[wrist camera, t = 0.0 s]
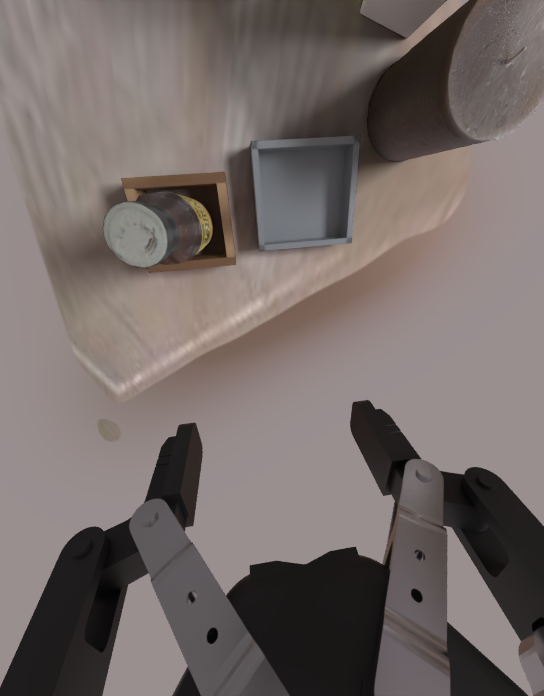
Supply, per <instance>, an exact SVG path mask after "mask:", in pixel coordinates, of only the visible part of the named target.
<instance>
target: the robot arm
mask: <svg viewBox="0 0 544 696" xmlns="http://www.w3.org/2000/svg"><path fill="white" fill-rule="evenodd" d="M350 427H351V432H352V435H353V437H354V439H355V441H356V443H357V445H358V447H359V449H360V451H361V453H362V455H363V457H364V459H365V461H366V463H367V465H368V467H369V469H370V471H371V473H372V475H373V476H374V478H375V480H376V483H377V484H378V487H379V489H380V490H381V492H382V494H383V496H385V495H391V494H392V496H393V498H394V500H395V502H394V507H393V512H392V519H391V524H390V530H389V536H388V541H387V546H386V550H385V555H384V560H383V564H381V563H379V562H377V561H375V560H373V559H371V558H368V557H365V556H361V555H358V552H357V549H356V547H351V548H345V549H340V550H335V551H330V552H328V553H326V554H324V555H323V556H321V557H319V558H317V559H315V560H313V561H311V562H310V563H308V564H295V563H289V562H282V561H272V562H267V563H261V564H255V565H250V574H249V575H248V576H246V577H244V578H243V579H242V580H240V581H239V582H238V583H237V584H236V585H235V586H234V587H233V588H232V589H231V590H230V591H229V593H227V595H225V593H224V592H223V590H222V589H221V587H220V585H219V584H218V582H217V581H216V579H215V578H214V576H213V574H212V573H211V571H210V569H209V568H208V566H207V565H206V563H205V561H204V560H203V558H202V557H201V555H200V553H199V552H198V550H197V549H196V547H195V546H194V544H193V543H191V541H190V540H189V538H188V537H187V535H186V534H185V527H189V526H193V523H194V516H195V509H196V501H197V493H198V486H199V478H200V471H201V463H202V453H203V452H202V443H201V439H200V436H199V432H198V429H197V425H196V423H188V424H181V425H179V426H178V430H177V434H176V436H175V437H169V438H168V439H167V440H166V442H165V443H164V444H163V445H162V447H161V450H160V453H159V459H158V460H157V463H156V467H155V470H154V473H153V476H152V480H151V483H150V486H149V490H148V494H147V496H146V499H145V502H144V504H142V505H141V506H140V507H139V508H138V509H137V510H136V511H135V512H134V514H133V515H132V517H131V518H130V519H128V520H127V521H125V522H123V523H121V524H118V525H116V526H114V527H112V528H110V529H108V530H106V531H103V530H102V529H101V528H99V527H89V528H86V529H84V530H82V531H80V532H79V533H77V534H76V535H75V536H74V537H72V538H71V539H70V540H69V541H68V542H67V544H66V545H65V547H64V548H63V550H62V551H61V553H60V556H59V558H58V560H57V562H56V565H55V567H54V569H53V571H52V573H51V576H50V578H49V580H48V582H47V585H46V587H45V589H44V591H43V593H42V596H41V598H40V600H39V602H38V605H37V607H36V609H35V611H34V613H33V616H32V618H31V620H30V622H29V625H28V627H27V629H26V631H25V633H24V636H23V638H22V640H21V642H20V645H19V647H18V649H17V651H16V654H15V656H14V658H13V660H12V663H11V665H10V667H9V669H8V671H7V674H6V676H5V678H4V680H3V682H2V685H1V687H0V696H102V694H103V690H104V685H105V681H106V677H107V673H108V668H109V664H110V660H111V656H112V651H113V647H114V643H115V639H116V634H117V630H118V626H119V622H120V617H121V613H122V609H123V605H124V600H125V595H126V592H127V587H128V584H130V583H132V582H134V581H135V580H137V579H139V578H140V577H142V576H144V575H146V574H148V573H149V575H150V577H151V583H152V585H153V588H154V590H155V592H156V595H157V597H158V599H159V602H160V604H161V606H162V608H163V611H164V613H165V615H166V618H167V620H168V622H169V624H170V626H171V629H172V631H173V633H174V636H175V638H176V640H177V643H178V645H179V647H180V649H181V652H182V654H183V656H184V658H185V661H186V663H187V665H188V667H187V669H186V671H185V673H184V675H183V676H182V678H181V680H180V682H179V684H178V686H177V688H176V690H175V692H174V693H173V695H172V696H528V695H527V694H526V693H525V692H524V691H523V690H522V689H521V688H520V687H518V685H516V684H515V683H514V682H513V681H512V680H511V679H510V678H509V677H508V676H506V675H505V674H504V673H503V672H502V671H501V670H500V669H499V668H498V667H497V666H495V665H494V664H493V663H492V662H491V661H490V660H489V659H488V658H487V657H485V656H484V655H483V654H482V653H481V652H480V651H479V650H478V649H477V648H476V647H475V646H473V645H472V644H471V643H470V642H469V641H468V640H467V639H466V638H465V637H464V636H462V635H461V634H460V633H459V632H458V631H457V630H456V629H455V628H453V626H451V625H450V624H449V623H448V622H447V530H446V528H444V527H443V526H449V527H452V528H453V530H454V532H455V533H456V535H457V537H458V538H459V540H460V542H461V543H462V545H463V546H464V548H465V550H466V551H467V553H468V555H469V556H470V558H471V560H472V561H473V563H474V565H475V566H476V567H477V569H478V571H479V573H480V574H481V576H482V578H483V579H484V581H485V582H486V584H487V586H488V588H489V589H490V591H491V592H492V594H493V596H494V597H495V599H496V601H497V602H498V604H499V606H500V607H501V609H502V611H503V612H504V614H505V615H506V617H507V619H508V620H509V622H510V624H511V625H512V627H513V629H514V630H515V632H516V634H517V635H518V637H519V638H520V640H521V643H520V645H519V658H520V662H521V665H522V667H523V670H524V672H525V674H526V677H527V679H528V681H529V683H530V685H531V688H532V692H533V696H544V526H543V525H542V524H541V523H540V522H539V521H538V519H537V518H536V517H535V516H534V515H533V514H532V513H531V512H530V510H529V509H528V508H527V507H526V506H525V505H524V504H523V503H522V501H521V500H520V499H519V498H518V497H517V496H516V495H515V494H514V493H513V491H512V490H511V489H510V488H509V487H508V486H507V485H506V484H505V483H504V481H502V479H501V478H499V477H498V476H497V475H496V474H494V473H492V472H490V471H488V470H486V469H483V468H478V467H472V468H469V469H467V470H466V472H465V474H464V475H463V474H455V473H448V472H443V471H439V470H438V468H437V467H435V466H434V465H433V464H431V463H429V462H427V461H425V460H422V459H421V458H420V457H419V455H418V454H417V452H416V451H415V450H414V448H413V447H412V446H411V444H410V443H409V441H408V440H407V439H406V437H405V436H404V435H403V433H402V432H401V431H400V429H399V428H398V426H396V424H395V422H394V421H393V419H392V418H391V417H390V416H389V415H388V414H387V413H385V412H384V411H383V410H381V409H375V408H374V406H373V405H372V404H371V402H370V401H369V400H365V401H358V402H353V405H352V413H351V421H350Z"/></svg>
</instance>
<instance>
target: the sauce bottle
mask: <svg viewBox="0 0 544 696" xmlns="http://www.w3.org/2000/svg"><path fill="white" fill-rule="evenodd" d="M103 231H104V237H105V240H106V243H107V245H108V247H109V248H110V249H111V251H112V252H113V253H114V254H115V255H116V256H117V257H118V258H119V259H120V260H121V261H123V262H124V263H126V264H128V265H131V266H135V267H143V268H147V267H153V266H155V265H158V264H162V265H171V264H179V263H183V262H185V261H186V260H189V259H191V258H192V257H193V256H195V255H196V254H197V253H198V252H199V251H201V250H202V249H203V248H204V247H205V246H206V245H207V244H208V243H209V241H210V240H211V237H212V234H213V224H212V220H211V217H210V215H209V213H208V211H207V210H206V208H205V207H204V206H203V205H202V204H201V203H199V202H198V201H196V200H194V199H192V198H189V197H185V196H182V195H179V194H176V193H172V192H168V191H161V192H155V193H149V194H142V195H139V196H138V198H137V199H136V201H126V202H121V203H118V204H115V205H114V206H113V207H111V208H110V209H109V211H108V212H107V214H106V216H105V218H104V224H103Z"/></svg>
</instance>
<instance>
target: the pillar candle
mask: <svg viewBox="0 0 544 696" xmlns="http://www.w3.org/2000/svg"><path fill="white" fill-rule="evenodd" d="M543 100H544V0H469V1H468V2H467V3H465V4H464V5H463V6H462V7H460V8H459V9H458V10H457V11H456V12H455V13H453V14H452V15H451V16H450V17H449V18H447V19H446V20H445V21H444V22H443V23H441V24H440V25H439V26H438V27H437V28H435V29H434V30H433V31H432V32H430V33H429V34H428V35H427V36H426V37H425V38H424V39H422V40H421V41H420V42H419V43H418V44H417V45H415V46H414V47H413V48H412V49H411V50H410V51H409V52H408V53H407V54H405V55H404V56H403V57H402V58H401V59H400V60H399V61H397V62H396V63H394V64H393V65H392V66H390V67H389V68H388V70H387V71H386V72H385V73H384V74H383V75H382V77H381V78H380V80H379V81H378V83H377V85H376V86H375V89H374V91H373V93H372V96H371V98H370V101H369V110H368V118H367V126H368V133H369V137H370V140H371V143H372V145H373V147H374V148H375V150H376V151H377V152H378V153H379V155H381V156H382V157H383V158H385V159H388V160H391V161H404V160H408V159H412V158H417V157H421V156H425V155H430V154H434V153H439V152H443V151H447V150H452V149H456V148H460V147H465V146H469V145H472V144H477V143H482V142H486V141H490V140H499V139H501V138H502V137H503V136H504V137H505V136H508V135H509V134H511V133H512V132H514V131H515V129H516V128H518V127H519V126H520V125H521V124H522V122H524V121H525V120H526V119H527V118H528V117H529V116H530V115H532V114H533V113H534V112H535V109H536V107H537V106H538V105H539V104H540V103H541V102H542V101H543Z"/></svg>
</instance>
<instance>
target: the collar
mask: <svg viewBox="0 0 544 696" xmlns="http://www.w3.org/2000/svg"><path fill="white" fill-rule="evenodd" d="M121 180H122V184H123V187H124V190H125V194H126V197H127V201H136V199H137V198H138V196H139V195H142V194H146V193H145V190H156V189H172V188H187V187H202V186H217V190H218V197H219V204H220V212H221V219H222V226H223V233H224V240H225V247H226V253H215V254H203V255H195V256H193V257H192V258H191V259H189V260H186V261H185V262H183V263H179V264H171V265H162V264H158V265H155V266H153V267H147V269H148V272H149V273H151V272H162V271H173V270H185V269H196V268H207V267H218V266H229V265H236V256H235V248H234V240H233V232H232V224H231V216H230V209H229V201H228V193H227V185H226V177H225V173H224V172H215V173H199V174H183V175H167V176H151V177H135V178H121Z"/></svg>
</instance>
